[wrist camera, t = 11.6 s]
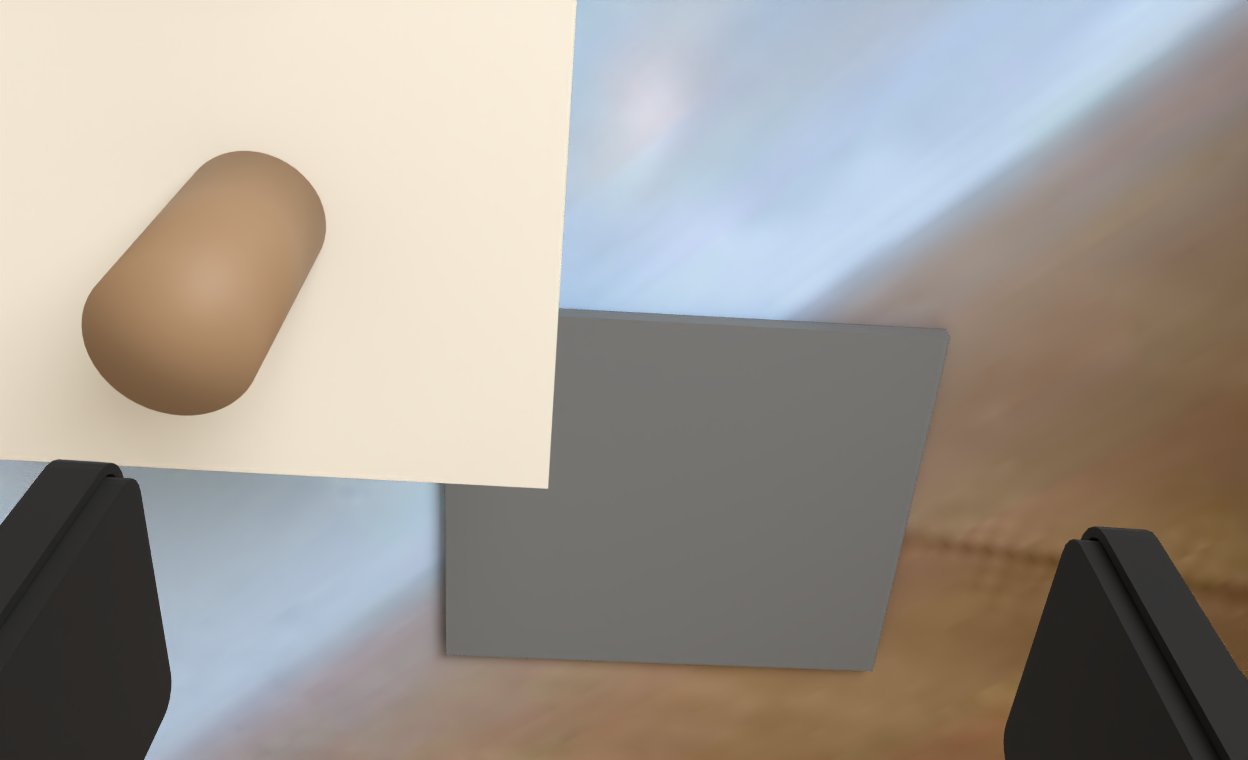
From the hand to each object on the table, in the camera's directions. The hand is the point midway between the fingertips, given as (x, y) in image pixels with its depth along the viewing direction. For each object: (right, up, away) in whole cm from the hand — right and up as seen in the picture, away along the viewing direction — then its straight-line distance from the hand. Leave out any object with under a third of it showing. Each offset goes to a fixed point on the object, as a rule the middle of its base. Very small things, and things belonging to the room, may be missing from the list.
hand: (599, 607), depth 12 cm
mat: (+2, -2, +34) cm, 34 cm away
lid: (-8, +7, +16) cm, 19 cm away
